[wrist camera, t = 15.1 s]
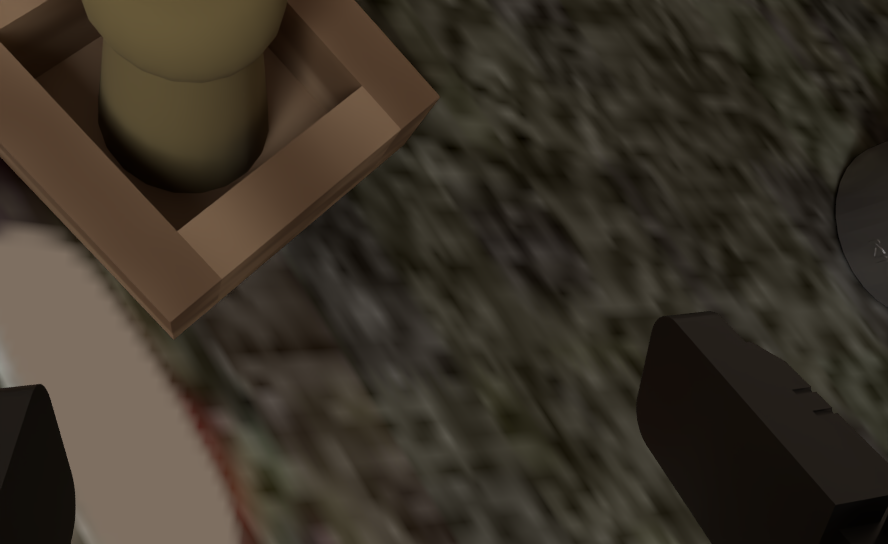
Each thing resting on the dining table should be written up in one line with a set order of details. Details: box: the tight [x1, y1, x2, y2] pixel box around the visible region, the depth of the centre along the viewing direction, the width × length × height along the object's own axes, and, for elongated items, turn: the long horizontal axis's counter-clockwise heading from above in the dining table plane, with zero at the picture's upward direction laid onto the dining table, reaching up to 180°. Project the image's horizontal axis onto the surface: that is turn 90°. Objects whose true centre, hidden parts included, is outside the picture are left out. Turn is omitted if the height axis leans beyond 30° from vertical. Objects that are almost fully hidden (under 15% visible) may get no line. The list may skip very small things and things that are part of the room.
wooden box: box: [0, 0, 440, 339], centre depth 27 cm, size 12×12×5 cm
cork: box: [82, 0, 288, 193], centre depth 23 cm, size 6×6×11 cm
